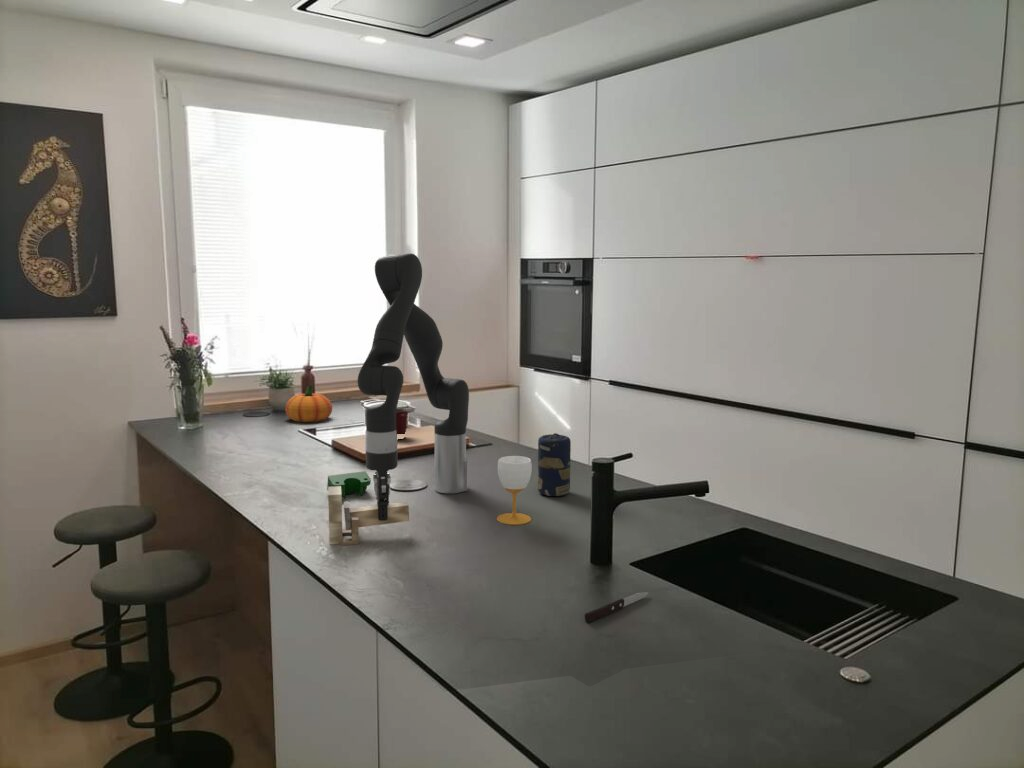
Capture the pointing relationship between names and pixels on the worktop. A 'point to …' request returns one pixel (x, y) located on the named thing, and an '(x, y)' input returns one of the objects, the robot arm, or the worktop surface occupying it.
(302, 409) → the pumpkin
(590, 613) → the kitchen knife
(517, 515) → the cup
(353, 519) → the post block
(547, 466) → the canister
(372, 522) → the light wooden bar
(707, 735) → the worktop surface
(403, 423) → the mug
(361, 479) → the clamp
